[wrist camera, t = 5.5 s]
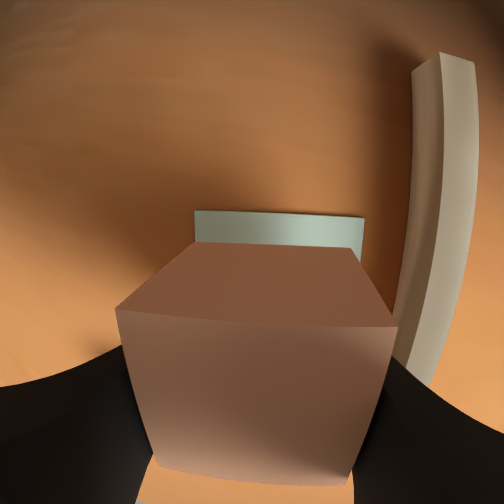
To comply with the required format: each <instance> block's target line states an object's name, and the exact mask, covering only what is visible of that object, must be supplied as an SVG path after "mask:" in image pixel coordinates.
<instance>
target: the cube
mask: <svg viewBox="0 0 504 504" xmlns="http://www.w3.org/2000/svg"><path fill="white" fill-rule="evenodd" d="M115 312H116V318H117V323H118V328H119V333H120V337H121V342H122V347H123V351H124V355H125V359H126V364H127V368H128V372H129V375H130V379H131V383H132V387H133V390H134V394H135V397H136V401H137V404H138V408H139V411H140V414H141V417H142V421H143V424H144V427H145V430H146V433H147V436H148V439H149V442H150V444H151V447H152V450H153V453H154V456H155V458H156V461H157V464H158V466H160V467H164V468H168V469H172V470H177V471H181V472H186V473H191V474H196V475H201V476H207V477H213V478H219V479H226V480H233V481H241V482H251V483H261V484H275V485H299V486H327V485H345V483H346V481H347V479H348V477H349V474H350V472H351V470H352V468H353V465H354V463H355V461H356V458H357V456H358V453H359V451H360V448H361V446H362V443H363V441H364V438H365V436H366V433H367V430H368V428H369V425H370V422H371V419H372V417H373V414H374V411H375V408H376V405H377V402H378V399H379V396H380V393H381V389H382V386H383V383H384V380H385V376H386V373H387V369H388V366H389V362H390V358H391V355H392V351H393V347H394V343H395V339H396V335H397V331H398V325H397V324H396V322H395V320H394V318H393V317H392V315H391V313H390V311H389V310H388V308H387V306H386V304H385V303H384V301H383V299H382V298H381V296H380V294H379V293H378V291H377V289H376V288H375V286H374V284H373V283H372V281H371V279H370V278H369V276H368V275H367V273H366V271H365V270H364V268H363V266H362V265H361V263H360V262H359V260H358V259H357V257H356V255H355V254H354V252H353V251H352V249H351V248H344V247H320V246H296V245H271V244H245V243H218V242H193V243H192V244H191V245H189V246H188V247H187V248H186V249H184V250H183V251H182V252H181V253H180V254H178V255H177V256H176V257H175V258H174V259H172V260H171V261H170V262H169V263H168V264H166V265H165V266H164V267H163V268H162V269H160V270H159V271H158V272H157V273H156V274H154V275H153V276H152V277H151V278H150V279H149V280H147V281H146V282H145V283H144V284H143V285H141V286H140V287H139V288H138V289H137V290H136V291H134V292H133V293H132V294H131V295H130V296H129V297H128V298H126V299H125V300H124V301H123V302H122V303H121V304H119V305H118V306H117V307H116V308H115Z"/></svg>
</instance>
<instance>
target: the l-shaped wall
mask: <svg viewBox="0 0 504 504" xmlns="http://www.w3.org/2000/svg"><path fill="white" fill-rule="evenodd" d="M411 81H412V105H413V148H412V173H411V188H410V201H409V211H408V221H407V230H406V238H405V245H404V252H403V259H402V265H401V271H400V277H399V283H398V288H397V294H396V299H395V304H394V309H393V313H392V317H393V318H394V320H395V322H396V324H397V325H398V331H397V335H396V339H395V343H394V347H393V351H392V356H393V357H394V358H395V359H396V360H397V361H398V362H399V363H401V364H402V365H403V366H404V367H405V368H406V369H407V370H408V371H409V372H410V373H411V374H413V375H414V376H415V377H416V378H417V379H418V380H419V381H421V382H422V383H423V384H424V385H425V386H427V387H428V388H429V385H430V383H431V380H432V378H433V375H434V373H435V370H436V367H437V365H438V362H439V359H440V356H441V354H442V351H443V348H444V345H445V342H446V339H447V336H448V332H449V329H450V326H451V323H452V319H453V316H454V312H455V309H456V305H457V301H458V297H459V293H460V289H461V285H462V281H463V276H464V271H465V267H466V262H467V257H468V251H469V245H470V239H471V233H472V226H473V219H474V211H475V202H476V191H477V178H478V158H479V117H478V97H477V84H476V74H475V66H474V62H471V61H468V60H465V59H462V58H459V57H455V56H452V55H449V54H445V53H442V52H438V53H437V54H436V55H434V56H433V57H431V58H430V59H428V60H427V61H426V62H424V63H423V64H421V65H420V66H418V67H417V68H416V69H414V70H413V71H411Z"/></svg>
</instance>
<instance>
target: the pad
mask: <svg viewBox="0 0 504 504" xmlns="http://www.w3.org/2000/svg"><path fill="white" fill-rule="evenodd" d="M194 219H195V242H218V243H245V244H271V245H296V246H320V247H344V248H351V249H352V251H353V252H354V254H355V255H356V257H357V259H358V260H359V262H360V259H361V250H362V241H363V231H364V220H365V219H364V218H360V217H345V216H329V215H311V214H291V213H268V212H240V211H202V210H196V211H194Z"/></svg>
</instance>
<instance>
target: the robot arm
mask: <svg viewBox="0 0 504 504" xmlns="http://www.w3.org/2000/svg"><path fill="white" fill-rule="evenodd" d="M152 455H153V450H152V447H151V444H150V442H149V439H148V436H147V433H146V430H145V427H144V424H143V421H142V417H141V414H140V411H139V408H138V404H137V401H136V397H135V394H134V390H133V387H132V383H131V379H130V375H129V372H128V368H127V364H126V359H125V355H124V351H123V347H122V345H120V346H118V347H116V348H114V349H113V350H111V351H109V352H107V353H105V354H102V355H100V356H98V357H96V358H94V359H92V360H90V361H88V362H86V363H84V364H81V365H79V366H77V367H74V368H72V369H69V370H66V371H64V372H61V373H58V374H55V375H52V376H49V377H45V378H42V379H38V380H34V381H30V382H26V383H22V384H17V385H11V386H5V387H0V504H135V502H136V499H137V496H138V492H139V489H140V486H141V483H142V481H143V478H144V475H145V472H146V469H147V466H148V464H149V462H150V460H151V457H152ZM352 474H353V483H354V504H504V434H503V433H501V432H499V431H496V430H494V429H492V428H490V427H488V426H486V425H484V424H482V423H480V422H479V421H477V420H475V419H473V418H471V417H470V416H468V415H466V414H464V413H463V412H461V411H460V410H458V409H457V408H455V407H454V406H452V405H451V404H449V403H448V402H446V401H445V400H443V399H442V398H441V397H439V396H438V395H437V394H435V393H434V392H433V391H432V390H430V389H429V388H428V387H427V386H425V385H424V384H423V383H422V382H421V381H419V380H418V379H417V378H416V377H415V376H414V375H413V374H411V373H410V372H409V371H408V370H407V369H406V368H405V367H404V366H403V365H402V364H401V363H399V362H398V361H397V360H396V359H395V358H394V357H393V356H392V355H391V358H390V362H389V366H388V369H387V373H386V376H385V380H384V383H383V386H382V389H381V393H380V396H379V399H378V402H377V405H376V408H375V411H374V414H373V417H372V419H371V422H370V425H369V428H368V430H367V433H366V436H365V438H364V441H363V443H362V446H361V448H360V451H359V453H358V456H357V458H356V461H355V463H354V465H353V468H352Z"/></svg>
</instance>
